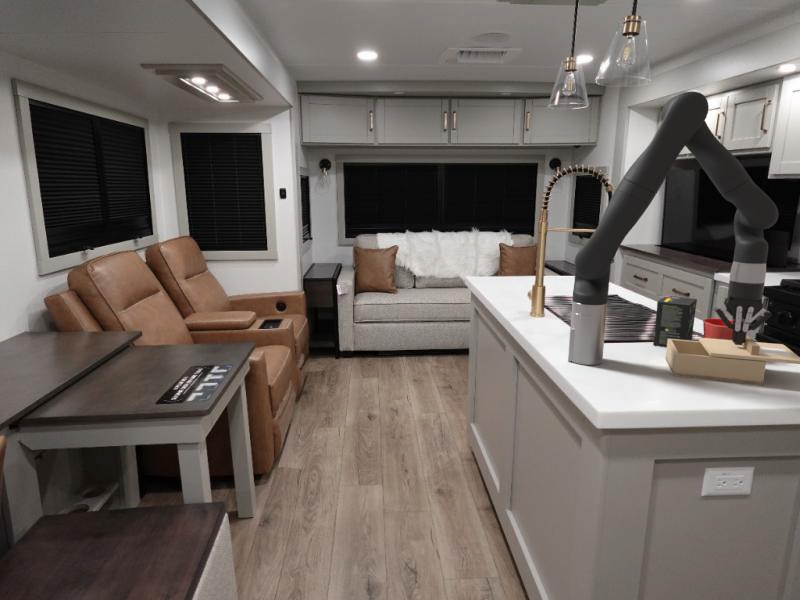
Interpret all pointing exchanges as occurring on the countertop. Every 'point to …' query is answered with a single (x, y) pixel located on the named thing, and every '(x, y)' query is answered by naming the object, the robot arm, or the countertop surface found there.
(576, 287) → the robot arm
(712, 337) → the flower pot
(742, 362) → the box
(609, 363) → the countertop surface
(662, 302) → the tampon box
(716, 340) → the lid
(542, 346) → the countertop surface
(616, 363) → the countertop surface
